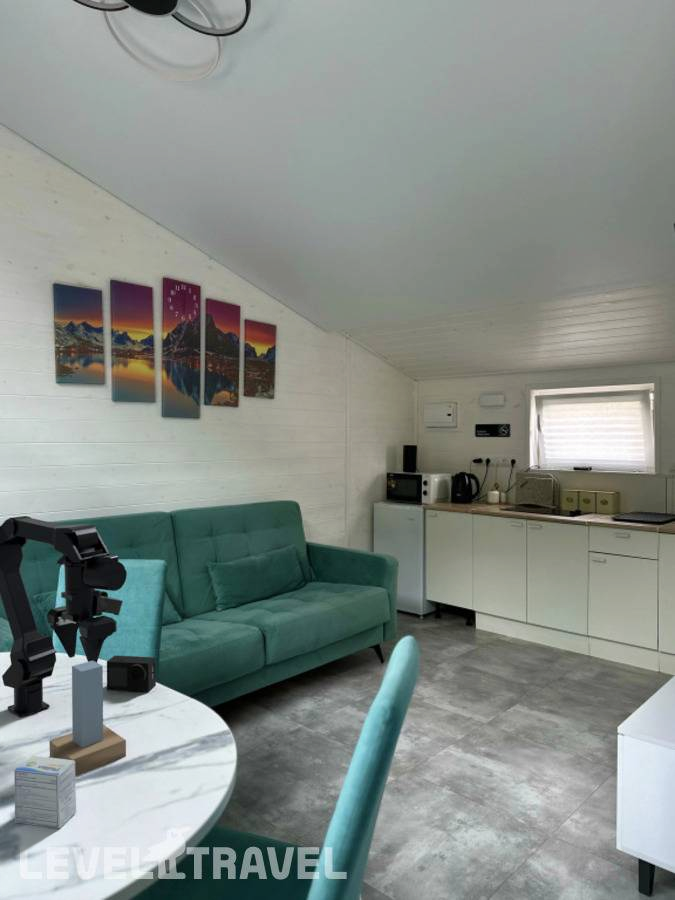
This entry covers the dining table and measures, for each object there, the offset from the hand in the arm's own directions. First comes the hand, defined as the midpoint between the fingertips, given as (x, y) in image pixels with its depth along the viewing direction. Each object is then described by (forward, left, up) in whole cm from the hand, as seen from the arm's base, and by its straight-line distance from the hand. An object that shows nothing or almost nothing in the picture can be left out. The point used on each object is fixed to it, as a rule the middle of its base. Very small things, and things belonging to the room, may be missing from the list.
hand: (82, 661), depth 131 cm
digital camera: (-9, +17, -13) cm, 23 cm away
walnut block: (+13, -6, -13) cm, 19 cm away
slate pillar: (+13, -6, -10) cm, 17 cm away
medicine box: (+26, -20, -13) cm, 35 cm away
